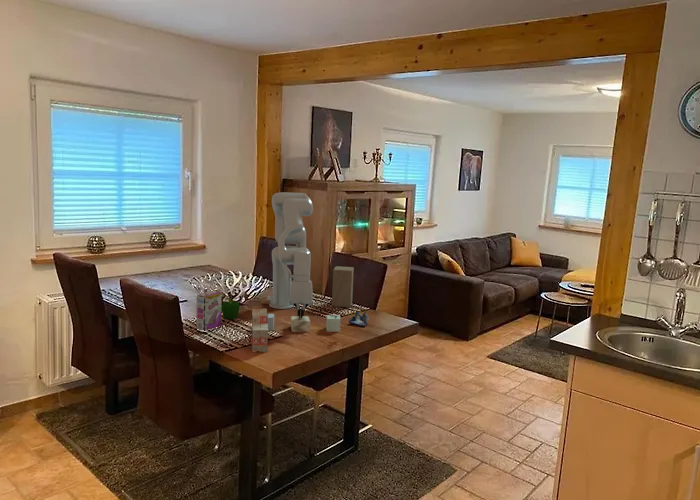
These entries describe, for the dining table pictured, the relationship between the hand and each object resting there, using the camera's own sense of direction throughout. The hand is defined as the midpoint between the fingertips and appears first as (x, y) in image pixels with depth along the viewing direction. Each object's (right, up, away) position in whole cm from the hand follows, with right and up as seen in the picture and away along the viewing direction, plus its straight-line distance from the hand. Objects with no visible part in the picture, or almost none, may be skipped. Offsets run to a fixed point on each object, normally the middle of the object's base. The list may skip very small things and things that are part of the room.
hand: (300, 317), depth 245 cm
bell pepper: (-34, -2, +13) cm, 37 cm away
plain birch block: (0, -6, +1) cm, 6 cm away
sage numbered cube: (+15, -6, +2) cm, 16 cm away
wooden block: (+18, +1, +46) cm, 50 cm away
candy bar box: (-40, -5, -6) cm, 41 cm away
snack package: (+27, -5, +14) cm, 31 cm away
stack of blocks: (-15, -8, -20) cm, 27 cm away
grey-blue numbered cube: (-15, -5, 0) cm, 16 cm away
